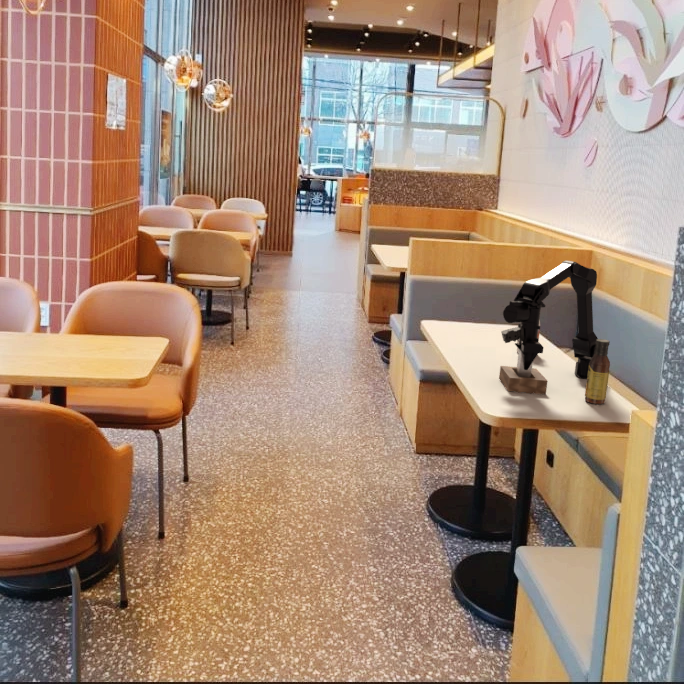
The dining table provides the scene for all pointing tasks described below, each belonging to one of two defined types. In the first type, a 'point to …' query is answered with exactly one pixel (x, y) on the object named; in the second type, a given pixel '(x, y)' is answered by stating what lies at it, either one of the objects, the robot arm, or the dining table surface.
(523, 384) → the well board
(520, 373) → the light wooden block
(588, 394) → the sauce bottle
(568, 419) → the dining table surface
